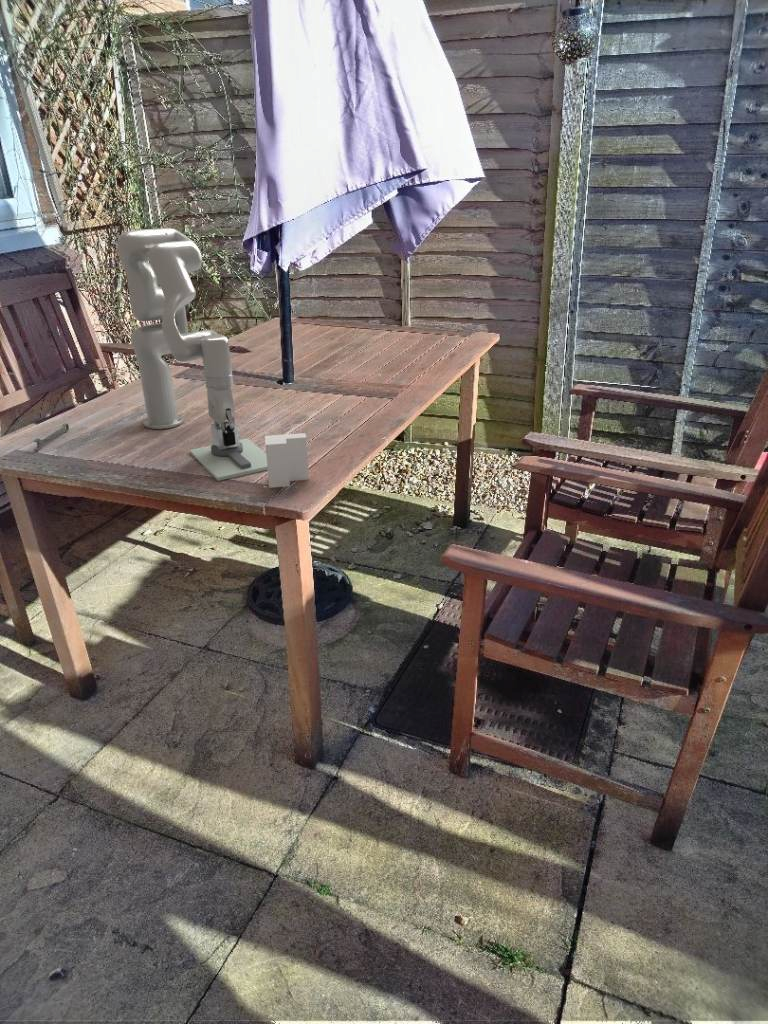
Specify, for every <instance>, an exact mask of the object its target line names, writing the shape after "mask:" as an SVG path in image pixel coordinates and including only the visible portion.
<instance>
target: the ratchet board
mask: <svg viewBox="0 0 768 1024" xmlns="http://www.w3.org/2000/svg"><path fill="white" fill-rule="evenodd" d="M239 442H240V446H237V447H232V448H227V449H222V450H219V449H218V448H217V447H216V446H215V445H214V444H213V443H212V444H211V445H207V446H202V447H198V448H193V449H189V454H190V455H191V456H192V457H193V456H194V457H193V458H194V459H195V460H196V459H197V460H198V461H199V462H200V463H201V464H202V465H203V466H204V467H205V468H206V469H205V468H204V467H203V466H202V465H201V464H200V463H199V462H198V461H197V460H196V461H197V462H198V463H199V464H200V465H201V466H202V467H203V468H204V469H205V471H207V472H208V473H209V474H210V475H211V476H212V477H213V478H214V479H215V480H216V481H218V482H219V481H223V480H228V479H232V478H236V477H237V478H238V477H241V476H246V475H251V474H254V473H259V472H260V473H261V472H264V471H268V468H267V457H266V451H264V449H262V448H260V447H259V446H258V445H257V444H256V443H254V442H253V441H251V440H250V439H249V438H243V439H242V438H241V439H239Z"/></svg>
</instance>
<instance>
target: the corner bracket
mask: <svg viewBox="0 0 768 1024" xmlns="http://www.w3.org/2000/svg"><path fill="white" fill-rule="evenodd" d="M307 442H308V441H307V434H306V432H303V433H302V432H301V433H286V434H273V435H265V436H264V444H265V453H266V457H267V468H268V470H267V477H268V488H282V487H283V488H285V487H290V486H291V485H290V482H291V481H292V482H293V481H295V482H296V481H306V480H310V475H309V473H310V472H309V460H308V458H309V457H308V443H307Z"/></svg>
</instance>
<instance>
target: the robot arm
mask: <svg viewBox="0 0 768 1024" xmlns="http://www.w3.org/2000/svg"><path fill="white" fill-rule="evenodd" d="M116 242H117V244H116V245H117V247H116V248H117V249H116V250H117V254H118V257H119V259H120V263H121V264H122V267H123V269H124V273H125V276H126V280H127V282H126V283H127V287H128V295H129V300H130V306H131V311H132V314H133V316H134V317H135V319H136V320H137V321H140V322H152V321H159V320H161V322H160V323H153V324H146V325H141V326H139V327H138V326H137V327H136V328H135V329H134V330H133V331H132V332H131V335H130V336H131V337H130V341H131V345H132V348H133V351H134V354H135V358H136V360H137V364H138V368H139V374H140V380H141V386H142V387H141V389H142V393H143V399H144V404H145V405H144V406H145V411H146V416H147V418H145V419H144V420H143V422H142V423H143V426H144V427H145V428H147V429H152V430H165V429H171V428H176V427H177V426H180V425H182V424H183V423H184V417H183V416H182V415H180V414H178V409H177V400H176V394H175V387H174V382H173V374H172V370H171V367H170V365H169V363H167V361H165V359H164V358H163V357H162V356H165V355H169V354H171V355H172V356H173V358H174V359H175V360H176V361H178V362H181V363H183V362H184V363H186V362H191V361H196V360H197V361H198V360H202V366H203V374H204V381H205V389H206V392H207V393H206V395H207V396H206V397H207V407H208V409H207V410H208V415H209V417H210V419H212V420H213V422H214V423H218V424H222V425H223V429H224V433H223V437H224V445H225V446H231V445H235V444H236V441H235V430H234V426H235V424H236V423H235V421H236V407H235V402H234V401H235V400H234V396H233V395H234V394H233V391H232V387H234V378H233V370H232V369H233V368H232V359H231V350H230V341H229V338H228V337H227V336H225V335H223V334H220V333H219V334H218V332H216V331H215V330H213V329H202V330H198V331H190V332H189V327H188V318H187V311H186V306H187V305H188V304H190V303H191V302H192V301H193V300H194V299H196V296H197V292H196V289H195V286H194V285H193V282H192V280H191V276H190V275H189V273H190V272H197V271H199V270H200V269H201V267H202V265H203V257H202V256H203V255H202V253H201V251H200V248H199V247H198V246H197V244H196V243H195V242H194V241H193V240H192V239H191V238H189V237H188V236H186V235H185V234H183V233H182V232H180V231H178V230H177V229H176V228H173V227H172V228H170V227H163V228H162V227H161V228H159V227H158V228H144V229H142V228H141V229H133V230H127V231H124V232H122V233H121V234H120V235H119V237H118V239H117V241H116ZM158 284H159V285H158ZM224 421H228V422H224ZM226 424H228V426H227V428H226Z"/></svg>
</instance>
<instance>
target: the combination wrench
mask: <svg viewBox="0 0 768 1024" xmlns="http://www.w3.org/2000/svg"><path fill="white" fill-rule="evenodd" d="M68 431H70V426H69V424H68V423H62V426H61V427H60V428H59V429H57V430H55V431H54V432H52V433H50V434H49V435H47V436H45V437H43V438H42V439H41V438H35V439H34V440H33V441H32V442H33V443H36V448H35V447H34V448H33V450H34V451H35V452H39V451H41V450H42V448H43V446H44V445H45V444H46V443H48V442H50V441H52V440H54V439H55V438H57V437H58V436H60V435H62V434H63V433H67V432H68Z"/></svg>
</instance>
